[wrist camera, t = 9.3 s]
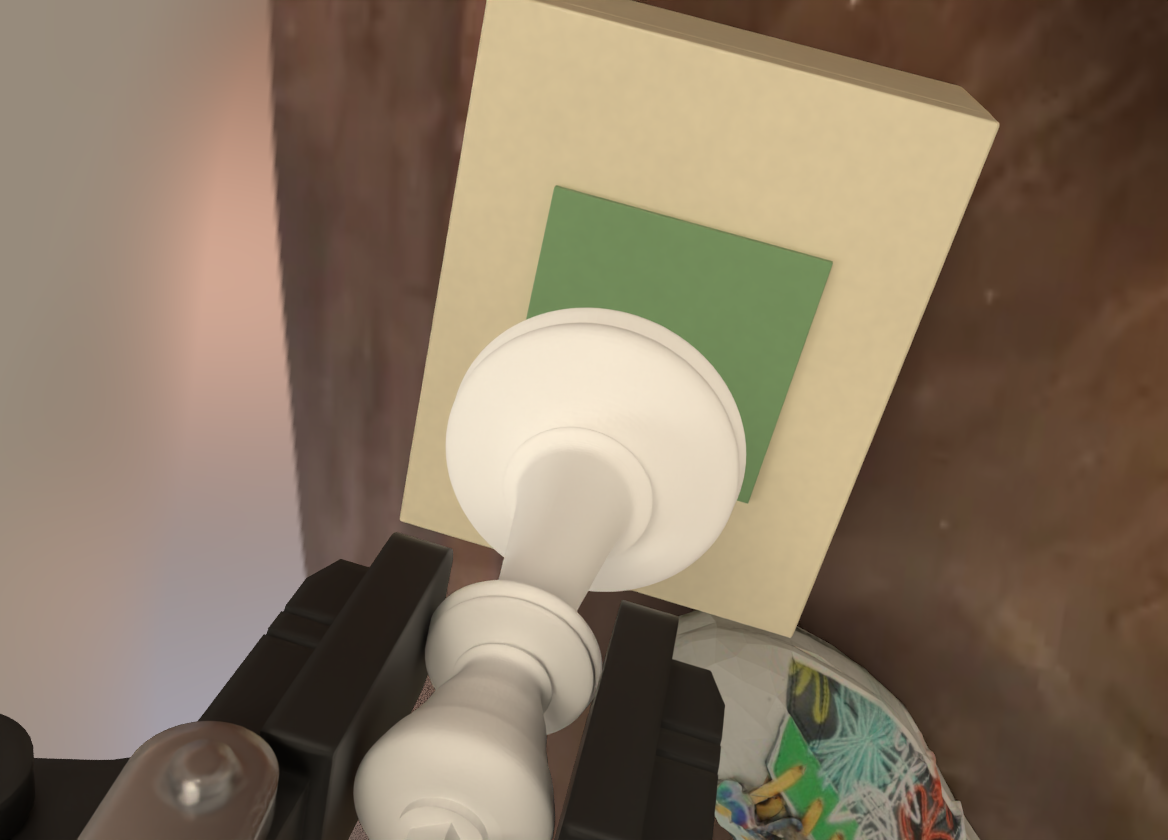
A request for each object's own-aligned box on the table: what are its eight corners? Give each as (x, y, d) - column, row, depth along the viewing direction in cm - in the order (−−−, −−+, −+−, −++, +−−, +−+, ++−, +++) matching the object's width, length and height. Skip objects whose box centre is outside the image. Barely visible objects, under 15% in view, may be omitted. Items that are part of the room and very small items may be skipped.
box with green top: (457, 433, 36) (396, 524, 30) (544, -23, 29) (485, -12, 24) (792, 531, 35) (791, 643, 30) (962, 86, 28) (1003, 124, 23)
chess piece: (406, 355, 17) (-27, 820, 8) (689, 266, 15) (540, 717, 7) (518, 598, 19) (262, 1204, 10) (784, 539, 17) (767, 1194, 8)
